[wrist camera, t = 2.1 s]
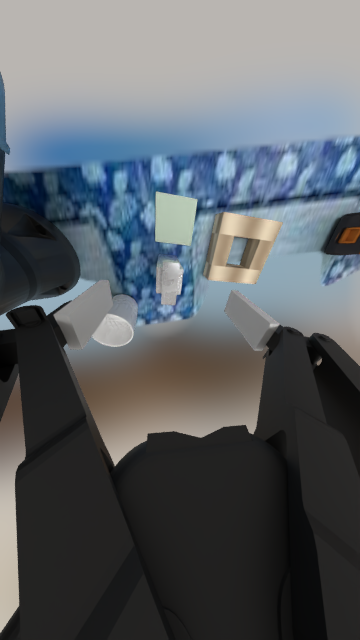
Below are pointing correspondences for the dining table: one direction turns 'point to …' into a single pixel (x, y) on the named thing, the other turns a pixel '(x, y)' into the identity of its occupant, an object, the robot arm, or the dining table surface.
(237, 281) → the socket block
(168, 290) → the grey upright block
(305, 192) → the dining table surface
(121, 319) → the white cup
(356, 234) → the power drill
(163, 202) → the mat
